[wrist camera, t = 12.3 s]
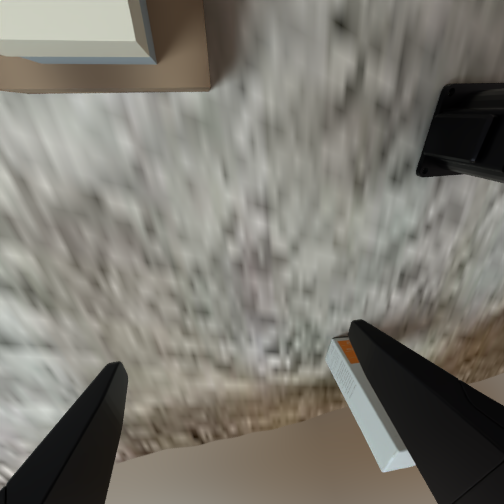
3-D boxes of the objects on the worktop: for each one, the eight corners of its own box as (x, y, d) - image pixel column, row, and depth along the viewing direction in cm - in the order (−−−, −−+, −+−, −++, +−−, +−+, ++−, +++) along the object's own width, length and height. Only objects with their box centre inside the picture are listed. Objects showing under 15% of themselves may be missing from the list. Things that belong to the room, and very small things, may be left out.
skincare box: (373, 332, 31) (459, 439, 21) (363, 354, 33) (436, 461, 23) (330, 337, 30) (399, 453, 20) (323, 359, 32) (381, 475, 22)
